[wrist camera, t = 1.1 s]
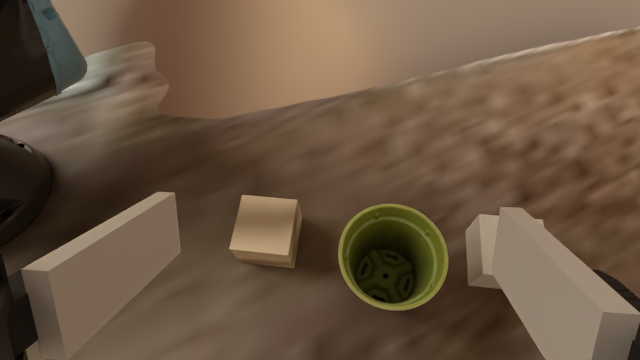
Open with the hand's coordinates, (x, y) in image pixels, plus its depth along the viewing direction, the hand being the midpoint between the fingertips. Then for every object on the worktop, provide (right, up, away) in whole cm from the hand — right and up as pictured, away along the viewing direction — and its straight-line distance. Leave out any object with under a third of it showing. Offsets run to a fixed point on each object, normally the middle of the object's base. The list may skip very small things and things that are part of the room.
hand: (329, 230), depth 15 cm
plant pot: (+6, -8, +25) cm, 27 cm away
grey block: (+18, -7, +25) cm, 32 cm away
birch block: (-6, -5, +28) cm, 29 cm away
